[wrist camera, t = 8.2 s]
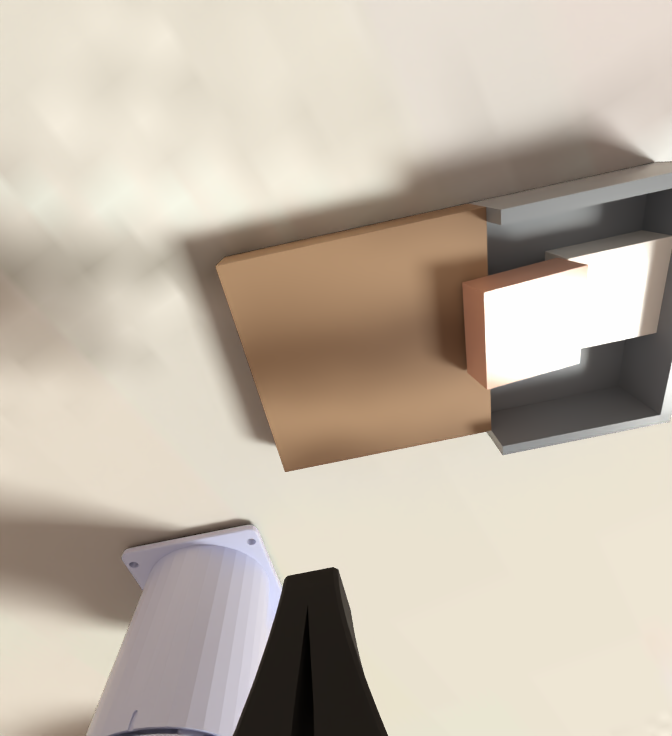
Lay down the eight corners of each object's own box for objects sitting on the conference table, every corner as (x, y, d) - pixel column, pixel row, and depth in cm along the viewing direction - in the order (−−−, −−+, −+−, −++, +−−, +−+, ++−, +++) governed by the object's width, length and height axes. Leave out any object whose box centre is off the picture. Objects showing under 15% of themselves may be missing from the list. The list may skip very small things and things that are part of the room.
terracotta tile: (552, 348, 17) (579, 363, 16) (467, 372, 17) (487, 390, 15) (557, 257, 15) (588, 264, 14) (462, 282, 15) (484, 292, 14)
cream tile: (628, 320, 18) (656, 332, 16) (541, 338, 18) (561, 352, 17) (641, 230, 16) (674, 235, 15) (545, 251, 16) (568, 258, 15)
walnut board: (476, 409, 20) (491, 430, 18) (286, 448, 20) (285, 472, 19) (467, 203, 16) (486, 206, 14) (224, 256, 16) (215, 266, 14)
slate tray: (621, 388, 20) (669, 421, 17) (477, 417, 20) (502, 455, 18) (656, 161, 15) (730, 159, 13) (467, 203, 16) (500, 210, 13)
